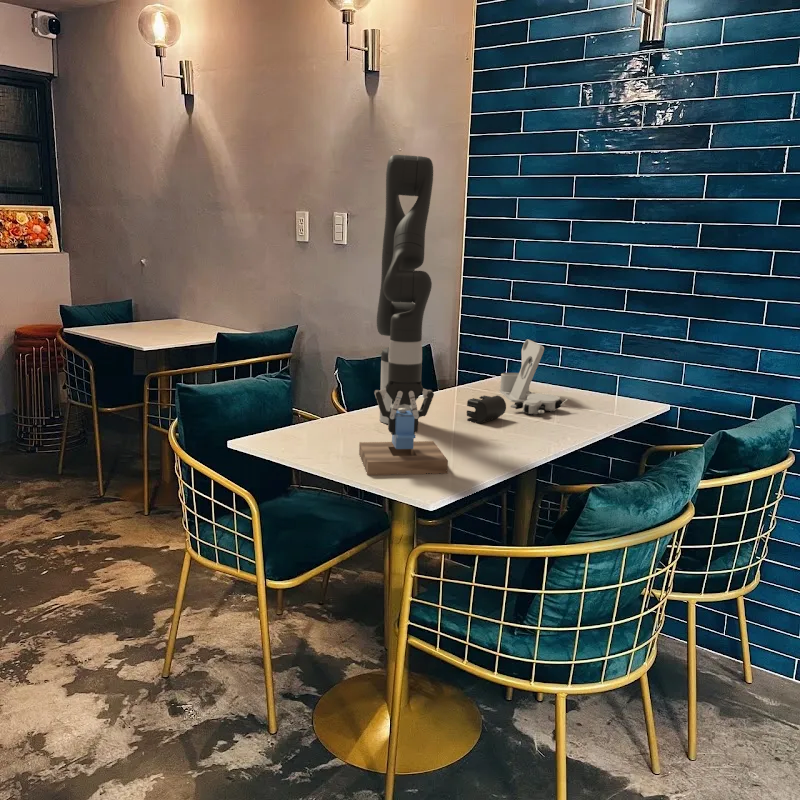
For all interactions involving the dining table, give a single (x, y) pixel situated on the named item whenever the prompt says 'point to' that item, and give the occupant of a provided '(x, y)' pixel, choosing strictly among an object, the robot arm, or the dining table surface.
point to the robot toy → (539, 403)
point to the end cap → (486, 408)
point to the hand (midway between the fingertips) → (402, 433)
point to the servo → (403, 430)
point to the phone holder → (522, 373)
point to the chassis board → (402, 458)
